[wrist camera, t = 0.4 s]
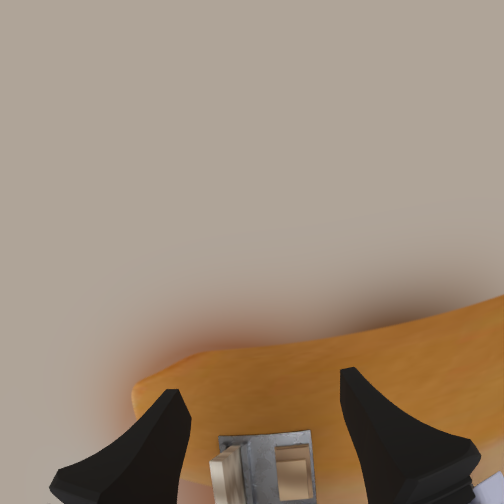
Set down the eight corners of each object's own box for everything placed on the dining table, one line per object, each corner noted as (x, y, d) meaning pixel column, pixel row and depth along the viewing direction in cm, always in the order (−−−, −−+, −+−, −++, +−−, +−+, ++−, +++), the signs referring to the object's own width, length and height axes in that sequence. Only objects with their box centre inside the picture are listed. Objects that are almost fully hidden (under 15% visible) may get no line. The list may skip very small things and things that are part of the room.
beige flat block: (248, 502, 29) (231, 527, 21) (238, 501, 30) (219, 526, 22) (241, 445, 34) (221, 461, 26) (231, 445, 34) (209, 461, 26)
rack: (316, 505, 28) (316, 510, 26) (228, 507, 30) (224, 512, 28) (310, 429, 33) (310, 432, 31) (219, 435, 35) (214, 438, 33)
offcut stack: (313, 496, 28) (312, 502, 26) (280, 498, 29) (278, 505, 27) (308, 443, 32) (308, 447, 30) (275, 446, 33) (272, 451, 31)
